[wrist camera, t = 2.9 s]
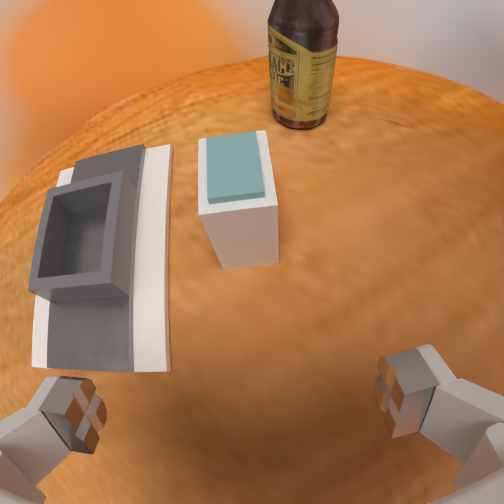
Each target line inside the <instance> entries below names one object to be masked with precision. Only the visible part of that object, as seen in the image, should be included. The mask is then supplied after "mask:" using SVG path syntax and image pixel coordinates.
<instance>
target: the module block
mask: <svg viewBox="0 0 504 504" xmlns="http://www.w3.org/2000/svg"><path fill="white" fill-rule="evenodd" d="M198 212H199V217H200V219H201V222H202V224H203V226H204V228H205V230H206V233H207V235H208V237H209V239H210V241H211V244H212V246H213V248H214V250H215V252H216V255H217V257H218V259H219V261H220V263H221V265H222V268H223V270H230V269H239V268H248V267H256V266H265V265H273V264H279V242H278V203H277V197H276V190H275V184H274V178H273V172H272V166H271V160H270V154H269V148H268V143H267V137H266V131H265V130H263V131H253V132H245V133H237V134H230V135H223V136H216V137H210V138H203V139H199V144H198Z"/></svg>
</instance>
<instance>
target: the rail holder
mask: <svg viewBox="0 0 504 504" xmlns="http://www.w3.org/2000/svg"><path fill="white" fill-rule="evenodd" d="M172 158H173V149H172V147H171V144H169V145H164V146H159V147H154V148H149V149H146V148H145V146H144V144H142V145H138V146H133V147H129V148H125V149H121V150H117V151H113V152H109V153H105V154H101V155H97V156H93V157H90V158H86V159H82V160H79V161H76V163H75V167H72V168H69V169H65V170H62V171H61V172H60V175H59V179H58V183H57V186H56V187H55V188H52V189H48V192H47V196H46V200H45V204H44V208H43V212H42V216H41V220H40V225H39V229H38V234H37V239H36V244H35V249H34V255H33V261H32V267H31V273H30V280H29V288H28V291H30V292H32V293H34V294H36V299H35V309H34V321H33V338H32V367H36V368H44V369H56V370H71V371H89V372H127V373H149V372H171V364H170V342H169V307H168V248H169V213H170V191H171V173H172Z"/></svg>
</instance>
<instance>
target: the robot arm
mask: <svg viewBox="0 0 504 504" xmlns="http://www.w3.org/2000/svg"><path fill="white" fill-rule="evenodd" d="M378 369H379V371H380V374H379V376H378V377H377V378H376V381H375V397H376V401H377V405H378V407H379V410H381V411H383V412H384V413H386V416H385V420H384V422H385V424H386V427H387V429H388V432H389V434H390V437H391V439H392V438H396V437H400V436H404V435H408V434H411V433H415V432H418V431H420V432H419V433H420V434H422V435H423V436H424V437H426V438H427V439H429V440H430V441H431V442H433V443H434V444H436V445H437V446H438V447H440V448H441V449H443V450H444V451H445V452H447V453H448V454H450V455H451V456H452V457H454V458H455V459H457V460H458V461H460V462H461V463H462V464H464V465H463V467H462V468H461V469H460V471H459V472H458V474H457V475H456V476H455V478H454V480H453V484H454V486H455V488H456V491H454V492H452V493H450V494H448V495H445V496H443V497H440V498H438V499H435V500H433V501H430V502H428V503H425V504H504V396H502V395H499V394H497V393H495V392H492V391H490V390H488V389H485V388H483V387H481V386H479V385H476V384H474V383H472V382H470V381H467V380H465V379H463V378H460V379H457V378H456V377H455V375H454V374H453V372H452V371H451V370H450V368H449V367H448V366H447V364H446V363H445V361H444V360H443V359H442V357H441V356H440V355H439V353H438V352H437V351H436V349H435V348H434V347H433V345H431V344H427V345H423V346H419V347H415V348H413V349H408V350H404V351H400V352H396V353H391V354H387V355H382V356H381V357H380V359H379V362H378ZM95 391H96V387H95V385H94V384H93V382H92V380H90V379H87V378H77V377H67V376H55V375H49V376H47V377H46V378H45V380H44V381H43V383H42V384H41V386H40V387H39V389H38V390H37V392H36V393H35V395H34V396H33V398H32V399H31V401H30V403H29V404H28V406H27V407H26V408H21V409H20V410H18V411H17V412H15V413H13V414H12V415H10V416H8V417H7V418H5V419H4V420H2V421H0V504H44V501H45V499H46V497H45V494H44V493H43V492H42V491H41V490H40V489H38V488H37V487H36V485H37V484H38V483H39V482H40V481H41V480H42V479H43V478H44V477H45V476H46V475H48V474H49V473H50V472H51V471H52V470H53V469H54V468H55V467H56V466H57V465H58V464H59V463H60V462H61V461H62V460H64V459H65V458H66V457H67V456H68V455H69V454H70V453H71V451H75V452H81V453H88V454H94V451H95V449H96V446H97V444H98V441H99V439H100V438H99V435H98V431H100V430H101V429H102V428H104V426H105V423H106V420H107V410H106V406H105V403H104V402H103V400H102V398H100V397H99V396H98V395H97V394H95Z"/></svg>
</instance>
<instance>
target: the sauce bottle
mask: <svg viewBox="0 0 504 504" xmlns="http://www.w3.org/2000/svg"><path fill="white" fill-rule="evenodd" d="M338 25H339V15H338V11H337V9H336V6H335V5H334V3H333V2H332V0H275V2H274V5H273V7H272V10H271V13H270V15H269V18H268V41H269V45H268V46H269V70H270V90H271V104H272V107H273V113H274V116H275V117H276V118H277V119H278V120H279V121H280V122H281V123H283V124H284V125H285V126H287V127H290V128H299V129H307V128H312V127H315V126H317V125H318V124H320V123H321V122H322V121H324V119H325V118H326V115H327V114H326V113H327V110H328V108H329V101H330V95H331V88H332V81H333V74H334V67H335V60H336V52H337V44H338V39H337V34H338Z"/></svg>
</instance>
